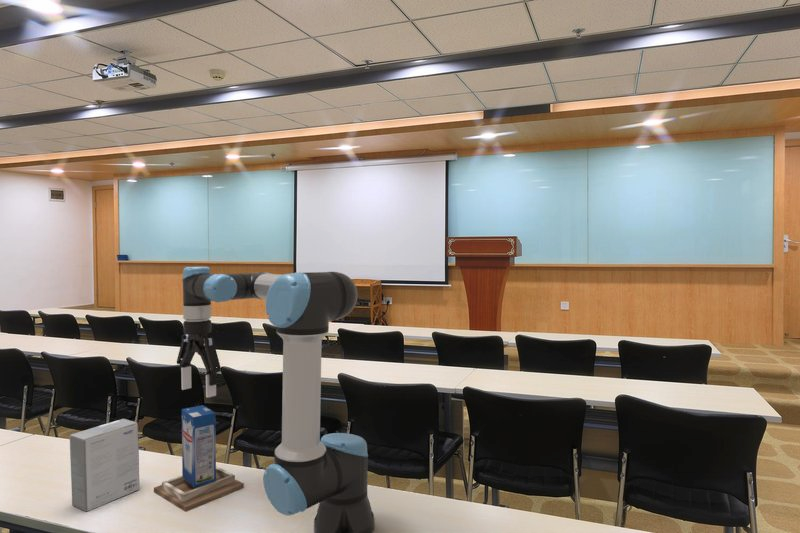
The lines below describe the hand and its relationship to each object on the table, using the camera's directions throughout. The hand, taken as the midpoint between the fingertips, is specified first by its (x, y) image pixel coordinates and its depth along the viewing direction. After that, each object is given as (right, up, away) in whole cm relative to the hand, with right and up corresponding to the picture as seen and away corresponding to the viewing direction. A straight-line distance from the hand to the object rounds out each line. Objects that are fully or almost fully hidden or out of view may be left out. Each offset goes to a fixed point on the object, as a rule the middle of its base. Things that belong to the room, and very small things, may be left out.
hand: (198, 392), depth 148 cm
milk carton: (0, -26, +1) cm, 26 cm away
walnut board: (0, -29, +1) cm, 29 cm away
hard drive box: (-25, -29, -4) cm, 38 cm away
